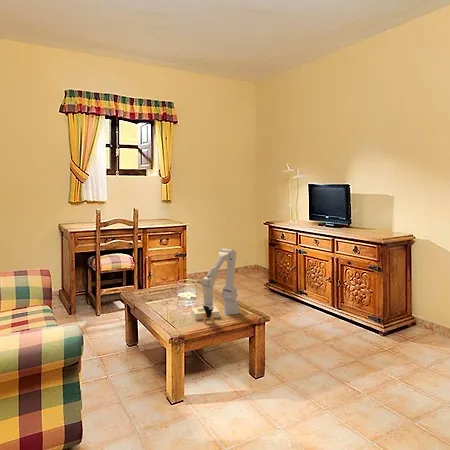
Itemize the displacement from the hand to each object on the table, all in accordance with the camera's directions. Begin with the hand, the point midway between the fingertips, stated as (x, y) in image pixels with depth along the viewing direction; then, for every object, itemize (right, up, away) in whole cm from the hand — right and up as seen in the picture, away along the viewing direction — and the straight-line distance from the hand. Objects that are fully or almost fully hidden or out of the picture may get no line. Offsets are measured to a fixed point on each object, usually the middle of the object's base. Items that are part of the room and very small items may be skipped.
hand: (208, 317), depth 250 cm
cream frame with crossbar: (-3, -2, +12) cm, 12 cm away
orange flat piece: (0, -3, 0) cm, 3 cm away
